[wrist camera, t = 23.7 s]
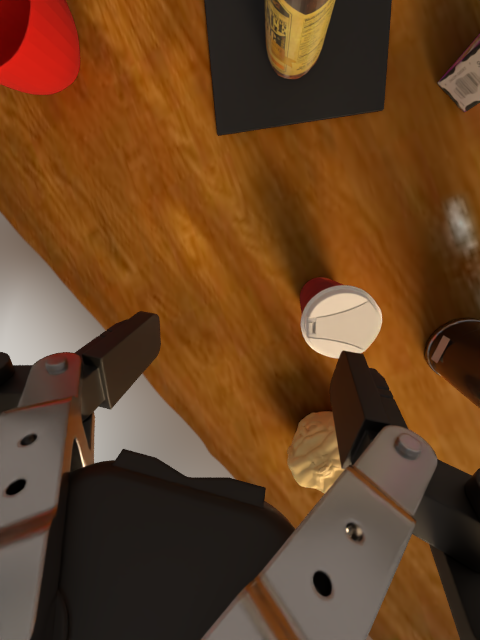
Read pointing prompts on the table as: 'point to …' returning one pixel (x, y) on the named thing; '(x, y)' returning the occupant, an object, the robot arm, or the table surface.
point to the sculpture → (315, 452)
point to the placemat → (310, 89)
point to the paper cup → (338, 317)
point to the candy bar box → (464, 78)
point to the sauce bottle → (295, 34)
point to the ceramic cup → (38, 46)
